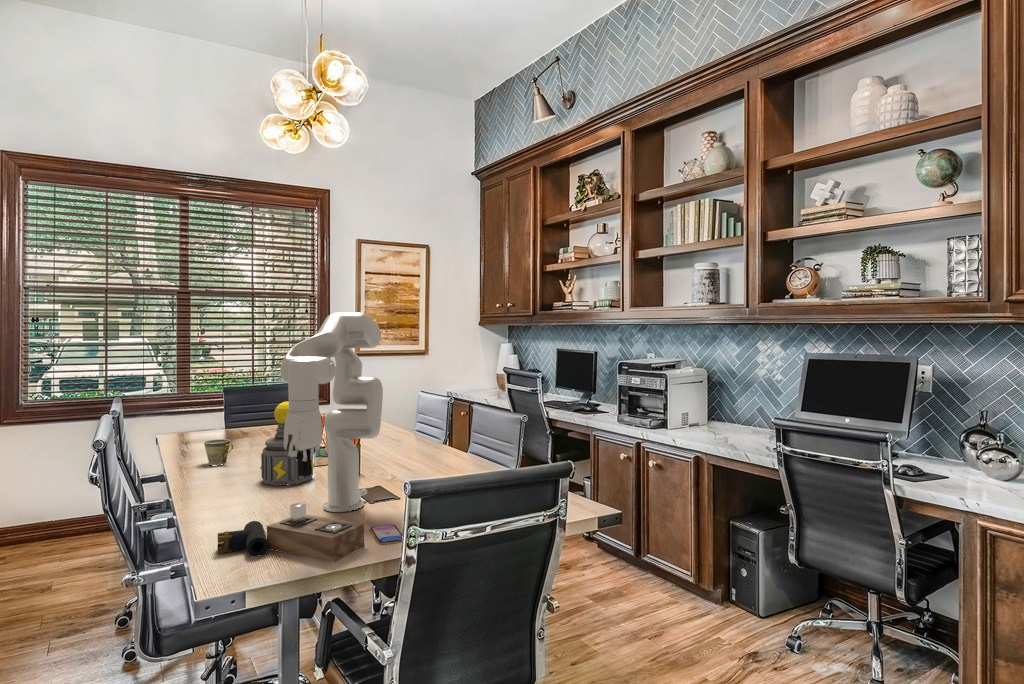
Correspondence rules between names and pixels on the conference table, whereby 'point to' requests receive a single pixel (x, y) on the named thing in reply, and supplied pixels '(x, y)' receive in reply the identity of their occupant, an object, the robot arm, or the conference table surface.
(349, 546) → the plunger block
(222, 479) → the conference table surface
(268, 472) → the grey lightning bolt generator
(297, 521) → the peg
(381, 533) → the smartphone
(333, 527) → the peg
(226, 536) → the pipe connector
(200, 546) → the conference table surface
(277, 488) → the conference table surface
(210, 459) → the ceramic cup
